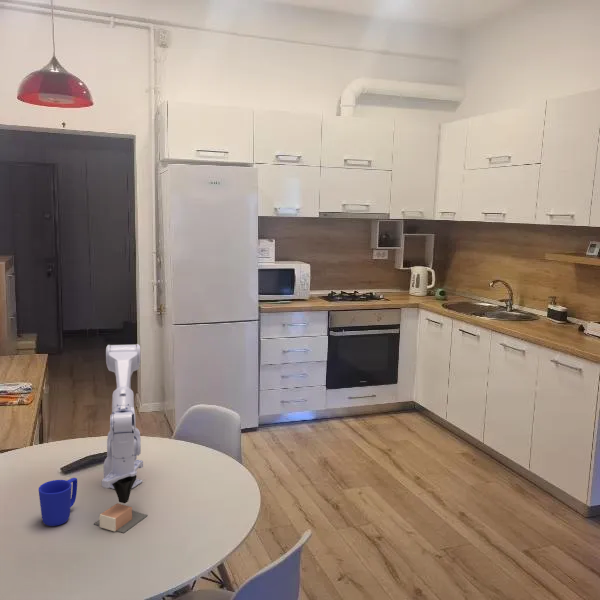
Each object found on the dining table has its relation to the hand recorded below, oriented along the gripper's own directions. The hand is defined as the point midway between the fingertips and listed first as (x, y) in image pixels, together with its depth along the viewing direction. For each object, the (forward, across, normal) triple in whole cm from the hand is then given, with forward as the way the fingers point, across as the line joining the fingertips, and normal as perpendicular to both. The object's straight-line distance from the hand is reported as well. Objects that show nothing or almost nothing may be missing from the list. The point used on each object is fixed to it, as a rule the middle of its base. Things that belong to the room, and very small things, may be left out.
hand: (123, 501), depth 160 cm
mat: (+5, -1, 0) cm, 5 cm away
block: (+3, 0, 0) cm, 3 cm away
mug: (+5, -7, +15) cm, 18 cm away
